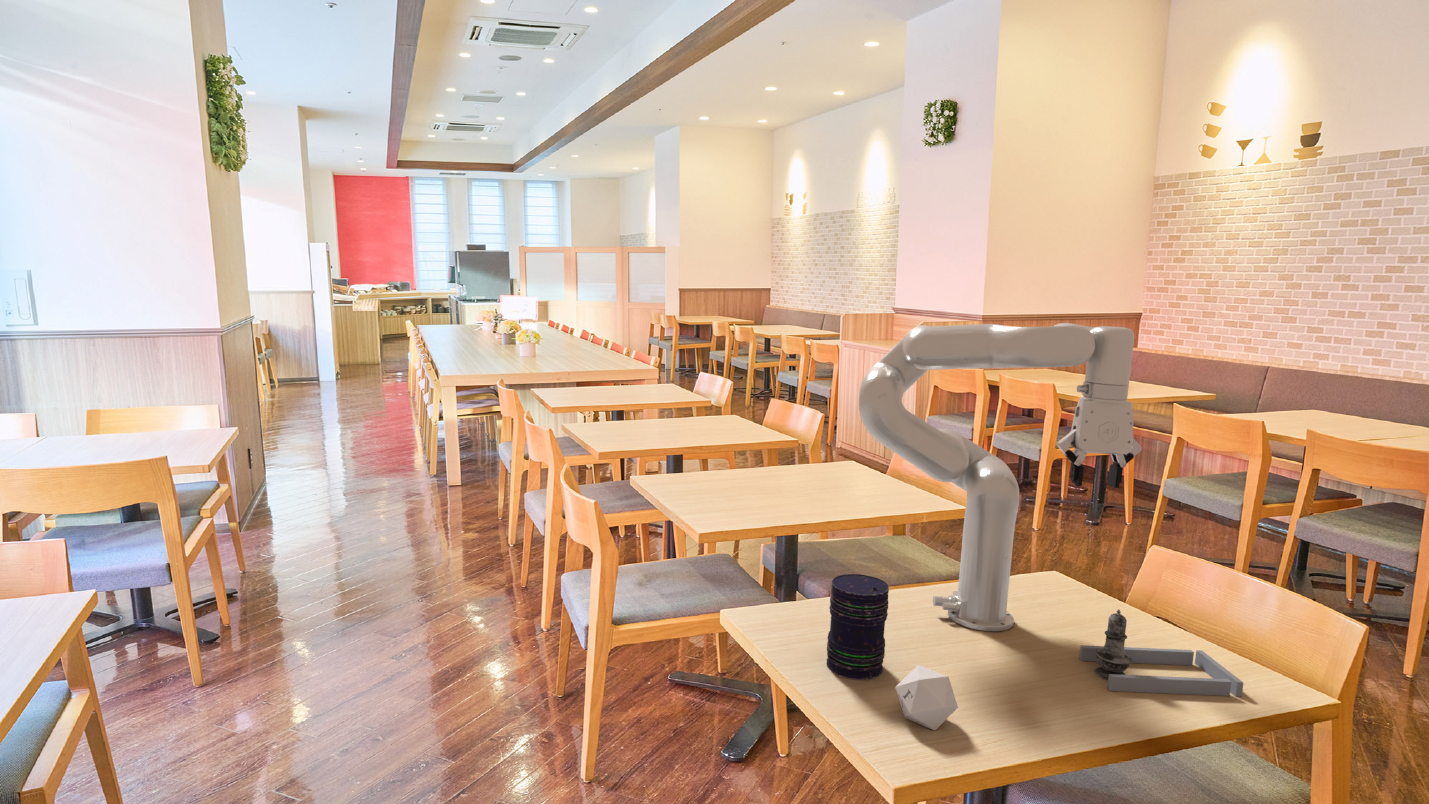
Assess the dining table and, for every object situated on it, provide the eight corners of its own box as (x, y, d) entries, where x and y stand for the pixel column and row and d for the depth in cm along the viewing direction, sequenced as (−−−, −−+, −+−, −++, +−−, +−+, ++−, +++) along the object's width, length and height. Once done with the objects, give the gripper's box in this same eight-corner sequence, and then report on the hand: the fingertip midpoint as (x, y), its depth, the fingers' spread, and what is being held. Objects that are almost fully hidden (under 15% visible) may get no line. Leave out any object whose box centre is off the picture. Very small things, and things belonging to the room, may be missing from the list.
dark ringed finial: (1127, 670, 145) (1135, 606, 143) (1132, 685, 140) (1140, 618, 138) (1090, 664, 147) (1098, 600, 145) (1094, 679, 141) (1102, 612, 140)
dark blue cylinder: (814, 665, 142) (819, 582, 140) (846, 648, 149) (851, 569, 147) (863, 686, 136) (869, 600, 133) (894, 667, 143) (900, 585, 140)
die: (897, 705, 131) (881, 672, 126) (945, 680, 131) (931, 646, 126) (921, 748, 124) (905, 715, 119) (971, 722, 124) (958, 688, 119)
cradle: (1110, 690, 137) (1111, 676, 137) (1079, 658, 149) (1080, 645, 149) (1241, 696, 137) (1243, 682, 137) (1200, 663, 149) (1201, 650, 149)
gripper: (1067, 393, 150) (1057, 488, 153) (1162, 397, 150) (1150, 492, 153) (1051, 387, 158) (1041, 478, 160) (1141, 391, 158) (1130, 482, 160)
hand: (1094, 484), depth 157 cm, fingers open, 6 cm apart
